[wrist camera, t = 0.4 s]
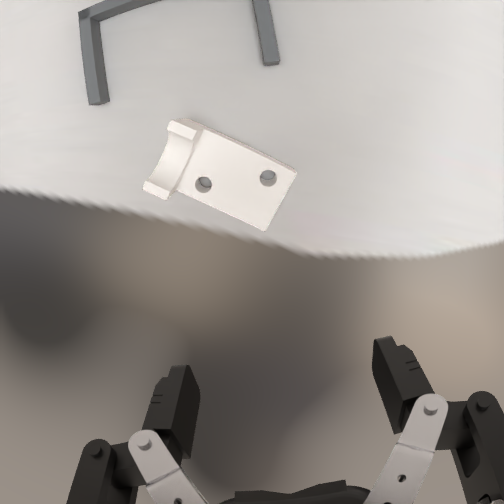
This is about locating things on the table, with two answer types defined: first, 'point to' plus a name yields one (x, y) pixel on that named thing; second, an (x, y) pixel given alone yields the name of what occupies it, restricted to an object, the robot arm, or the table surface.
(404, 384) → the robot arm
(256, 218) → the bracket
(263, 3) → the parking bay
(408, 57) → the table surface
